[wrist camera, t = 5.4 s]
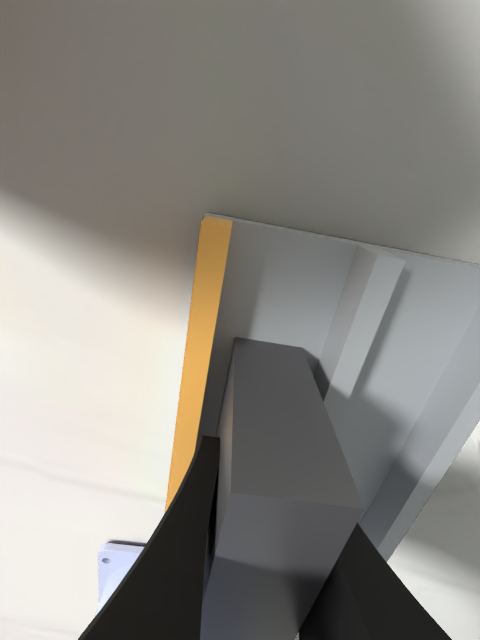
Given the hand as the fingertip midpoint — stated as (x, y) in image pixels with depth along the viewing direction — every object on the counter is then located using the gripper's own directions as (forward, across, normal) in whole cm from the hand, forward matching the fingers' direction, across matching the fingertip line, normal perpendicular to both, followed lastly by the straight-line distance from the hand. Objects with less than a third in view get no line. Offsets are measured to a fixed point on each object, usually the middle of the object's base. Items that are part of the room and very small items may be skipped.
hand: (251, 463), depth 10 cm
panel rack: (+3, -2, 0) cm, 4 cm away
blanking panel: (+2, 0, 0) cm, 2 cm away
